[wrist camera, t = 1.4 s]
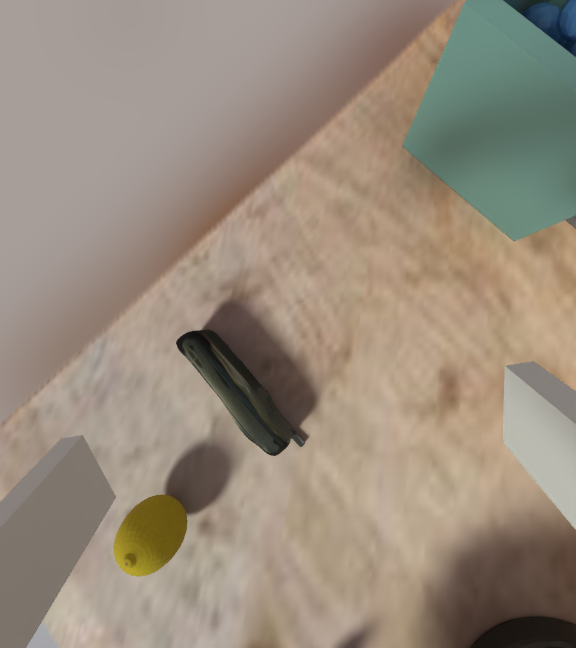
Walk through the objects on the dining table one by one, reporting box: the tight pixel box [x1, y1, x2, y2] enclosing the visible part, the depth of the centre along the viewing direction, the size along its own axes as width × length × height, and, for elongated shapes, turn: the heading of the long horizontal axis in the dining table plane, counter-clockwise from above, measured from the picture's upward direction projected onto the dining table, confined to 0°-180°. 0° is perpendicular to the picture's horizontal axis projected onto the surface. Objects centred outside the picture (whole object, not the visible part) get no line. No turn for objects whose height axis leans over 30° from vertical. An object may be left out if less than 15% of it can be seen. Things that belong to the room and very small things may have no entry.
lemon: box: [114, 495, 187, 576], centre depth 30 cm, size 6×6×8 cm
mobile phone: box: [176, 330, 305, 456], centre depth 31 cm, size 5×3×15 cm
